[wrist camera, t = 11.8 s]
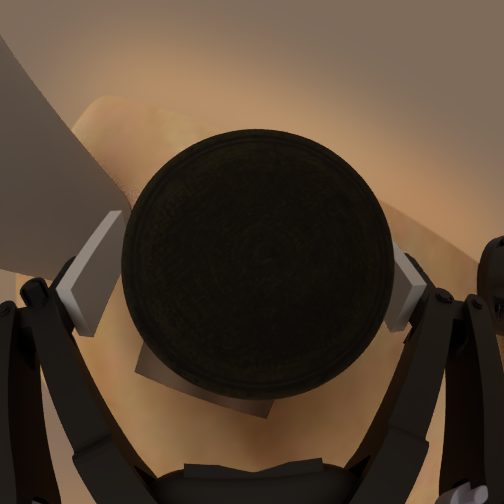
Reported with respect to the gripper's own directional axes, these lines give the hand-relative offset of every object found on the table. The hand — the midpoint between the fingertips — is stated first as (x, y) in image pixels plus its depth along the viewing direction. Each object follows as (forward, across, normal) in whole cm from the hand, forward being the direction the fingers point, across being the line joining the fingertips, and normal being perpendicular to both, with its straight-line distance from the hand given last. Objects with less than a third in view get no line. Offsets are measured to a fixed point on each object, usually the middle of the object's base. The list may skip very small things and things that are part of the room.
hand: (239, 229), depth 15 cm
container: (+6, 0, -9) cm, 11 cm away
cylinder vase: (+13, -17, -7) cm, 23 cm away
